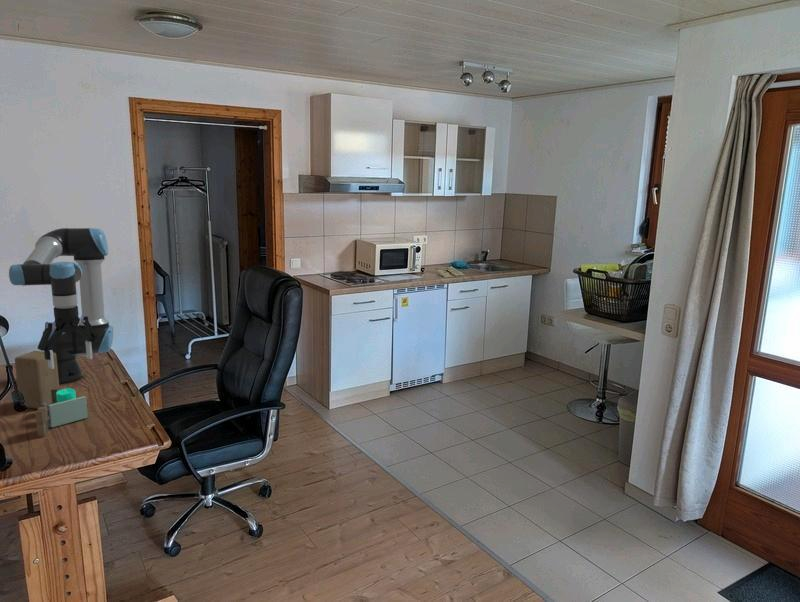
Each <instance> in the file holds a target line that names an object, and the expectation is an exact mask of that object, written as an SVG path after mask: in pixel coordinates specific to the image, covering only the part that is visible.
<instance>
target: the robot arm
mask: <svg viewBox="0 0 800 602" xmlns="http://www.w3.org/2000/svg"><path fill="white" fill-rule="evenodd" d="M108 247H109V246H108V241H107V237H106V234H105V232H104V230H103V229H101V228H92V227H88V228H87V227H85V228H84V227H82V228H81V227H79V228H77V227H76V228H75V227H74V228H73V227H71V228H69V227H62V228H58V229H53V230H51V231H49V232H47V233H45V234H43V235H41V237H39V238H38V239H37V241H36V242H35V248H34V249H33V250H32V251H31V253H30V254H29V255H28V257H27V258H26V259H25V260H24V262H23V263H22V264H21V263H18V264H12V265H10V266H9V269H8V277H9V278H8V279H9V281H10V283H11V284H12V285H14V286H22V287H24V286H46V285H47V286H50V285H51V297H52V298H51V299H52V306H53V316H54V321H53V322H49V321H46V322H45V323H44V330H43V331H42V335H41V338H40V341H39V342H38V346H37V350H38V351H44V355H45V359H46V360H48V367H49V368H51V369H54V358H53V352H54V353H56V358H57V368H58V378H59V384H65V383H69V382H73V381H74V382H75V381H76V380H78V379H81V378H82V377H83V370H82V368H81V366H80V363H79V362H78V359H77V355H85V354H86V359H88V360H93V354H100V353H101V354H103V353H108V352H110V351H111V349H112V345H113V342H114V341H113V339H114V326H113V325H110V324H109V323H110V322H109V320H107V319H106V318H105V307H104V306H105V305H104V291H103V289H104V288H103V277H102V275H103V274H102V263H103V262H104V261H105V260H106V258H105V257H106V256H107V257H108V255H109V248H108ZM58 257H73V261H74V262H73V261H56V262H53V261H54V260H55V259H56V258H58ZM77 282H79V290H80V291H79V292H80V293H79V295H80V306H81V316H79V314H80V313H79V306H78V305H79V304H78V293H77Z"/></svg>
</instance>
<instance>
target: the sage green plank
mask: <svg viewBox="0 0 800 602" xmlns="http://www.w3.org/2000/svg"><path fill="white" fill-rule="evenodd" d="M87 404H88V403H87V396H86V395H84V396H80V397H76V398H75V399H71V400H67V401H63V402H59V403H55V404H51V405H48V406H47V409H48V419H50V427H51V428H55V427H58V426H63V425H67V424H70V423H73V422H77V421H80V420H83V419H88V418H89V417H88V416H89V414H88V405H87Z"/></svg>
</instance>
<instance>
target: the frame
mask: <svg viewBox="0 0 800 602" xmlns="http://www.w3.org/2000/svg"><path fill="white" fill-rule="evenodd" d="M59 390H62V388H61V386H60V385H59V386H57V387H54V388H52V389H51V397H52V404H55V403H57V397H56V393H57V391H59ZM34 413H35V415H34V416H35V423H36V429H37V430H36V432H37V438H45V437H46V436H47V434H48V433H49V430H50V429H51V428H52V427H50V418H49V409H48V406H47V403H42V404H40V407H39V408H38V409H37V410H36V411H35V412H34Z"/></svg>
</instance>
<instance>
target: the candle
mask: <svg viewBox="0 0 800 602" xmlns="http://www.w3.org/2000/svg"><path fill="white" fill-rule="evenodd" d="M76 395H77V394H76V390H75V389H74V388H70V387H69V388H66V387H64V388H63V389H62V388H61V390H59V391H57V393H56V397H57V403H59V402H63V401H67V400H71V399H75V398H77V396H76Z"/></svg>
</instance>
